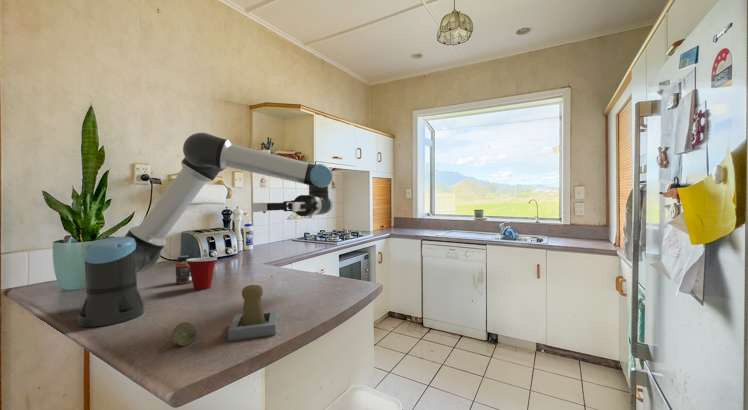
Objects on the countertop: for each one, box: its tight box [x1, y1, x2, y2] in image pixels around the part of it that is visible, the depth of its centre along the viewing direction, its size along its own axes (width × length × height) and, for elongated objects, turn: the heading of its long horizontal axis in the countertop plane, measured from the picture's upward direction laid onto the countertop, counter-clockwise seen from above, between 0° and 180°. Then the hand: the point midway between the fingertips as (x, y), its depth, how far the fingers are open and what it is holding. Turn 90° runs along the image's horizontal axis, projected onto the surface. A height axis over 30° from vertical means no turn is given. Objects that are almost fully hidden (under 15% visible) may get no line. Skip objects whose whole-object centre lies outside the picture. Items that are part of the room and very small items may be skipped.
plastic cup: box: [186, 257, 218, 291], centre depth 122 cm, size 11×11×12 cm
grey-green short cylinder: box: [171, 321, 197, 347], centre depth 74 cm, size 4×5×5 cm
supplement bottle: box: [175, 255, 193, 285], centre depth 131 cm, size 6×6×11 cm
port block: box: [227, 309, 278, 342], centre depth 82 cm, size 11×11×2 cm
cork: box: [241, 284, 265, 326], centre depth 82 cm, size 6×6×11 cm
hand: (272, 207), depth 90 cm, fingers open, 13 cm apart
